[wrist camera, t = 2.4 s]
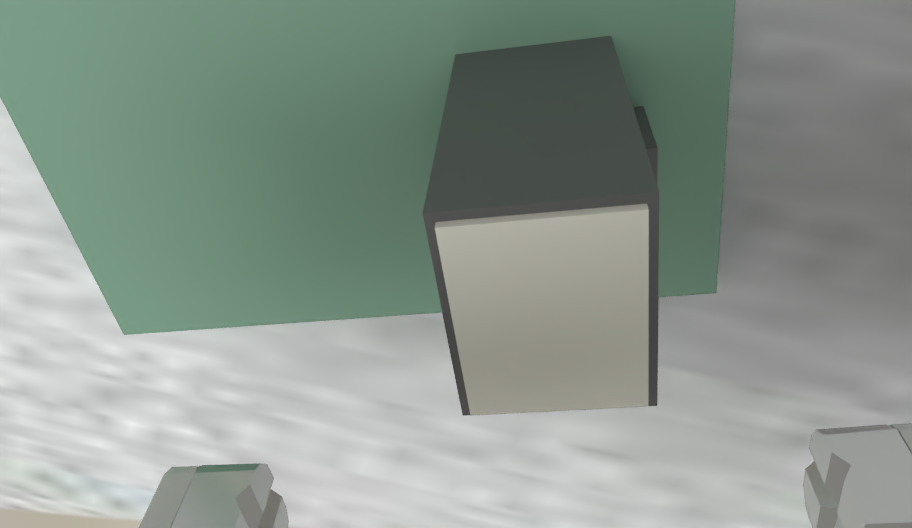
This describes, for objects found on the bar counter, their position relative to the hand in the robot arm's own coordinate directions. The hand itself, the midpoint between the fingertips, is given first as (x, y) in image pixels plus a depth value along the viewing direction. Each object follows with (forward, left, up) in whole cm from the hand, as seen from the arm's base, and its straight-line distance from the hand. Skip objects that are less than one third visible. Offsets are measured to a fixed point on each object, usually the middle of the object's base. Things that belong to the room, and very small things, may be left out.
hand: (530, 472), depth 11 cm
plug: (0, 0, -12) cm, 12 cm away
